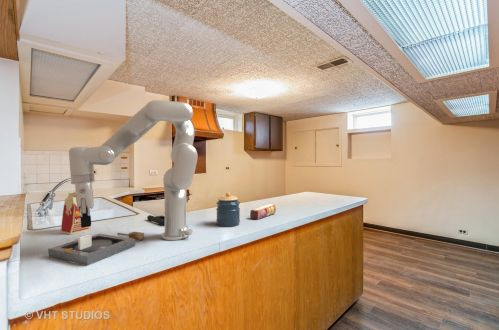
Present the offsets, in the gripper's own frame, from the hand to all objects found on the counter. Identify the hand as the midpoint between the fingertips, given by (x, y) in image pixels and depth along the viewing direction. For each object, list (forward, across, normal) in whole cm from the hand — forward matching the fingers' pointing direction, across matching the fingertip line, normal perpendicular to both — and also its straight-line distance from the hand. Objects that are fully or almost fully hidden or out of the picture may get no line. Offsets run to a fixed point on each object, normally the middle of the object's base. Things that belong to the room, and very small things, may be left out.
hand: (86, 226), depth 96 cm
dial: (+8, -3, -2) cm, 9 cm away
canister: (+13, +10, -64) cm, 66 cm away
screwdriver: (+10, +8, -16) cm, 21 cm away
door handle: (+12, +34, -36) cm, 50 cm away
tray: (+9, -3, -2) cm, 10 cm away
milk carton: (+9, +34, +7) cm, 36 cm away
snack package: (+15, +16, -91) cm, 94 cm away
